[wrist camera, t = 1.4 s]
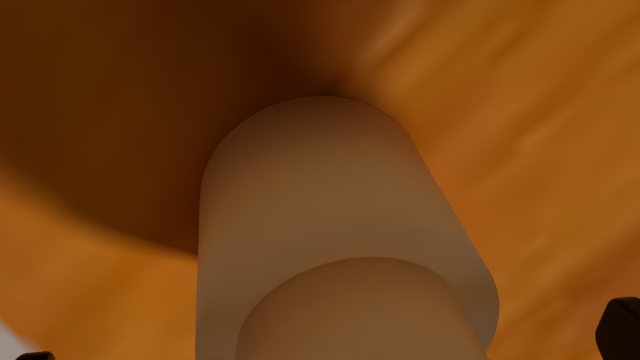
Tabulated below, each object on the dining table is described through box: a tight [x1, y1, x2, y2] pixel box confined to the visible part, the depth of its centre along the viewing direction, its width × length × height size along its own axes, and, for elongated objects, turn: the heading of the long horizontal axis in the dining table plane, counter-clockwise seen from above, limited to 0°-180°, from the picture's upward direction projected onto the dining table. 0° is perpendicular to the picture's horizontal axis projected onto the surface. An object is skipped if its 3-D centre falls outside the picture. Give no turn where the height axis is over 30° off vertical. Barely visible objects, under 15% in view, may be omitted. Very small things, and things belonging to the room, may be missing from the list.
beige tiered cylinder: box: [195, 95, 499, 360], centre depth 9 cm, size 5×5×7 cm
